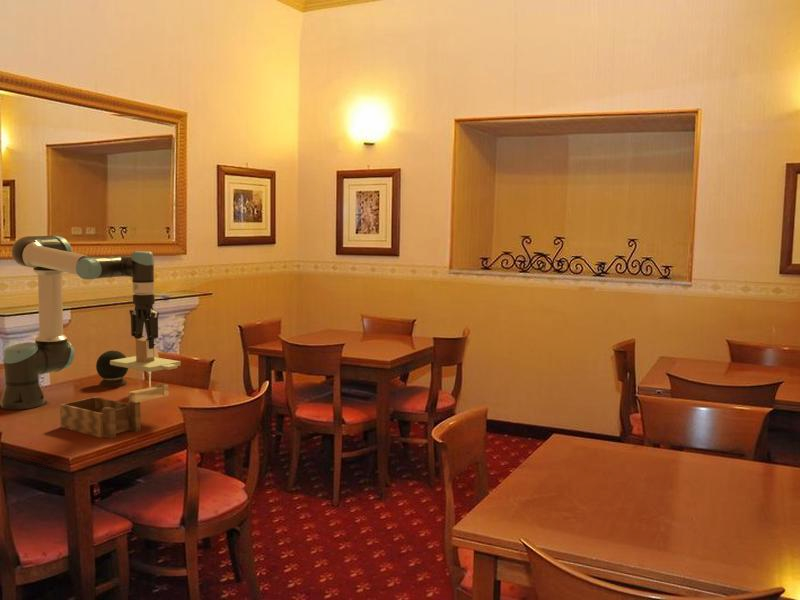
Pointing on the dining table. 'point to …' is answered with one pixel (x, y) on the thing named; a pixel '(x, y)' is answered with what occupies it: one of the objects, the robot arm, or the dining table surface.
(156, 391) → the light wooden bar
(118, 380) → the dark ball on base
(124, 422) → the wooden box
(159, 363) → the lid
